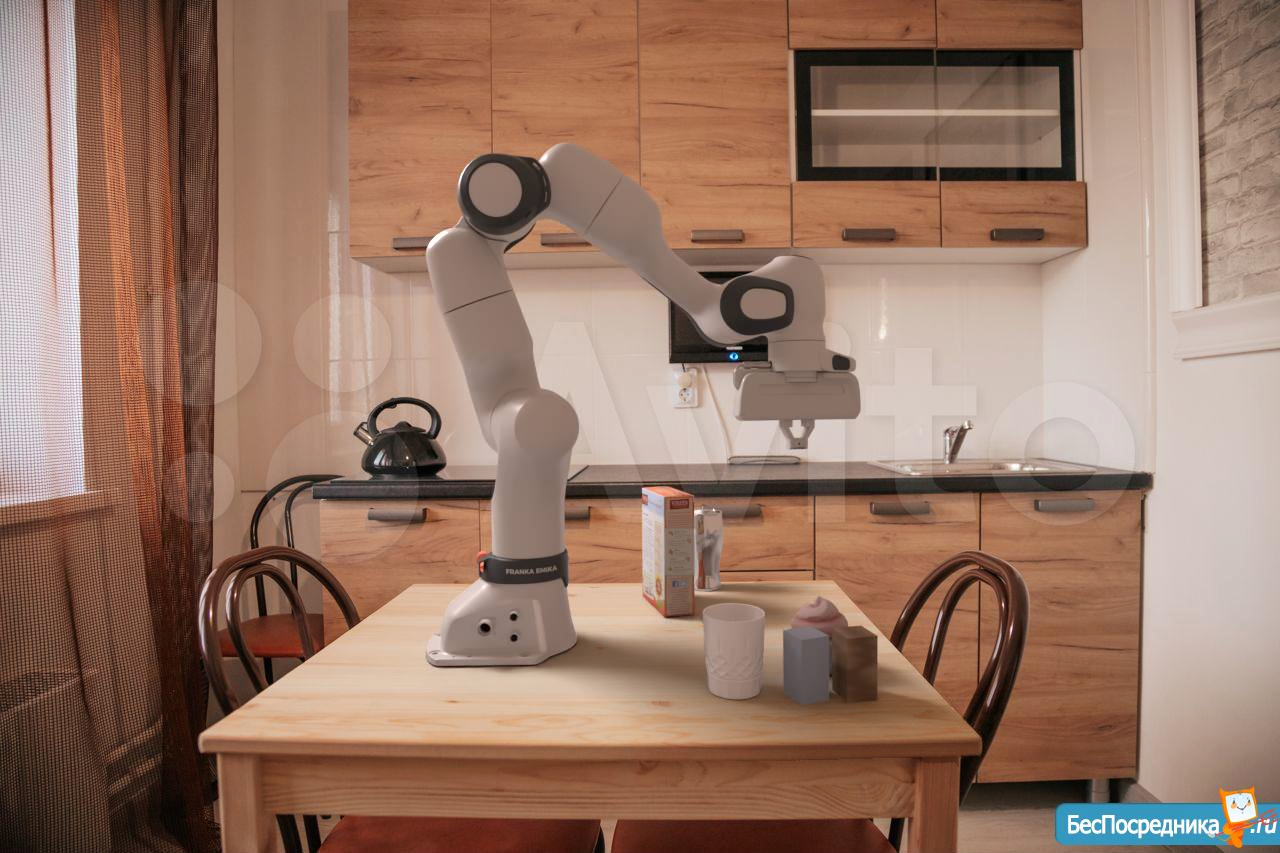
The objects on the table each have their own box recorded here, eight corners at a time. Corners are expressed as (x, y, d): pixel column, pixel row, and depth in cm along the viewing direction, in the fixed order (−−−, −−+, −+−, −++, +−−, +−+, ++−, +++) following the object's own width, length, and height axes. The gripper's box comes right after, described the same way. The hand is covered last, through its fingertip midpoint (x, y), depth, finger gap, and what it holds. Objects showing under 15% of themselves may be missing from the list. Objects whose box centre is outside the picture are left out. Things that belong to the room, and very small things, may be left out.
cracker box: (697, 615, 119) (695, 494, 118) (663, 618, 118) (662, 496, 117) (672, 593, 133) (670, 484, 132) (641, 596, 131) (640, 486, 130)
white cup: (778, 693, 87) (778, 614, 87) (728, 707, 83) (727, 625, 83) (739, 672, 94) (739, 599, 94) (691, 684, 90) (690, 608, 90)
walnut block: (847, 703, 84) (847, 638, 84) (832, 690, 88) (831, 627, 88) (877, 700, 85) (877, 635, 85) (861, 687, 89) (861, 625, 89)
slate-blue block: (801, 705, 84) (801, 640, 84) (783, 692, 88) (783, 630, 87) (829, 700, 85) (829, 635, 85) (810, 687, 89) (809, 625, 89)
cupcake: (775, 658, 99) (775, 589, 99) (835, 652, 101) (835, 584, 101) (803, 684, 90) (803, 608, 90) (869, 677, 92) (869, 603, 91)
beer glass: (725, 591, 133) (724, 514, 133) (689, 592, 133) (688, 514, 133) (721, 582, 140) (721, 508, 140) (687, 582, 140) (686, 508, 140)
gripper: (740, 360, 104) (740, 452, 104) (865, 360, 108) (865, 449, 108) (727, 362, 110) (727, 449, 111) (846, 362, 114) (846, 446, 114)
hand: (796, 449), depth 109 cm, fingers closed
